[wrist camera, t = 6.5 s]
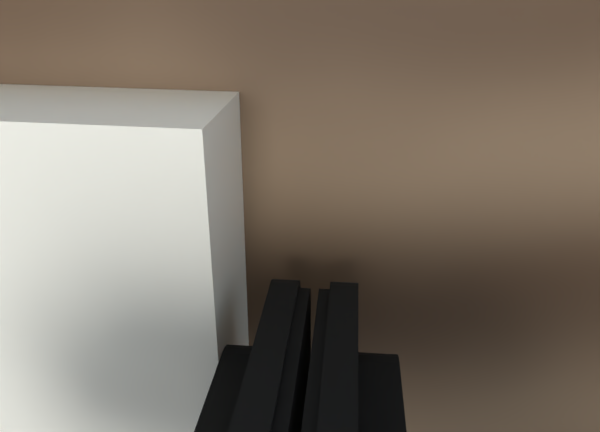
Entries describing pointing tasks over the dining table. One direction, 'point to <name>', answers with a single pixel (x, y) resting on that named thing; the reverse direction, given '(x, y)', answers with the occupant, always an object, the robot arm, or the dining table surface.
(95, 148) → the cream box
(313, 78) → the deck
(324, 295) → the robot arm
